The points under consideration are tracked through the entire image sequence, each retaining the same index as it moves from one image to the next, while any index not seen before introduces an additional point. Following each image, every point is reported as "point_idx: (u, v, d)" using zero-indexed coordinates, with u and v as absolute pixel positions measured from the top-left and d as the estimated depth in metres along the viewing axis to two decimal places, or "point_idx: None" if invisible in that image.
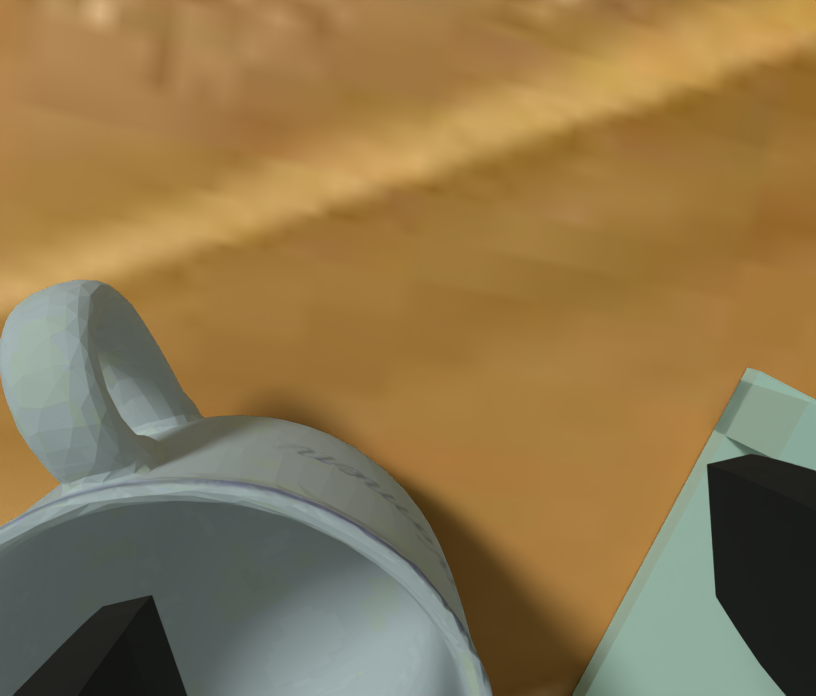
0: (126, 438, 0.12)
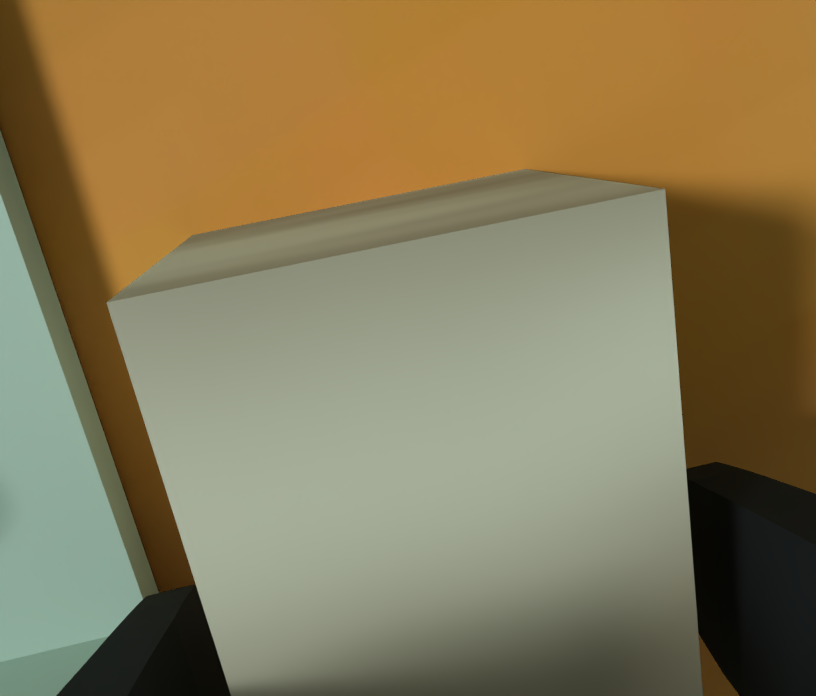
0: None
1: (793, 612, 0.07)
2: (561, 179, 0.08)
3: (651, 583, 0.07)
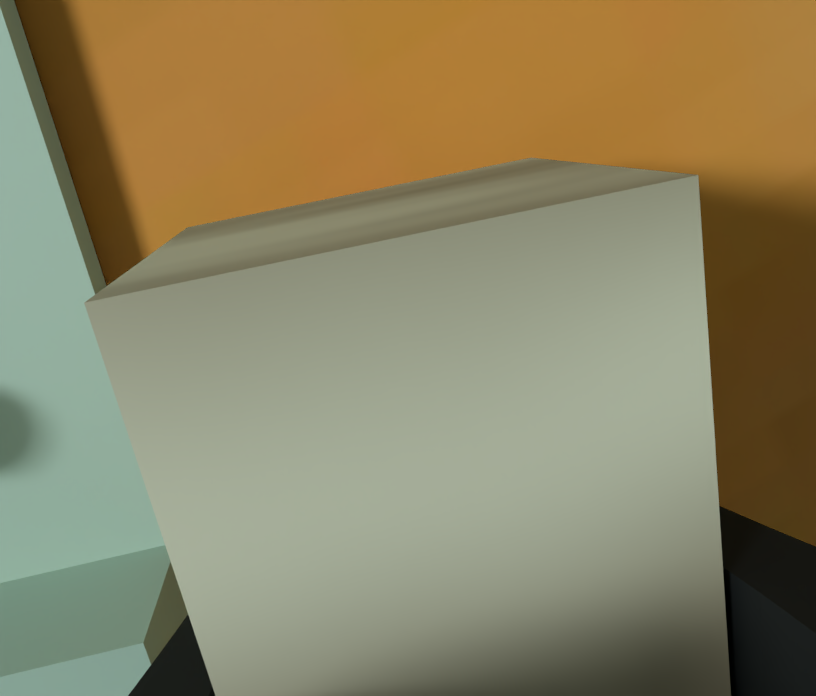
0: None
1: None
2: (578, 167, 0.07)
3: (678, 602, 0.06)
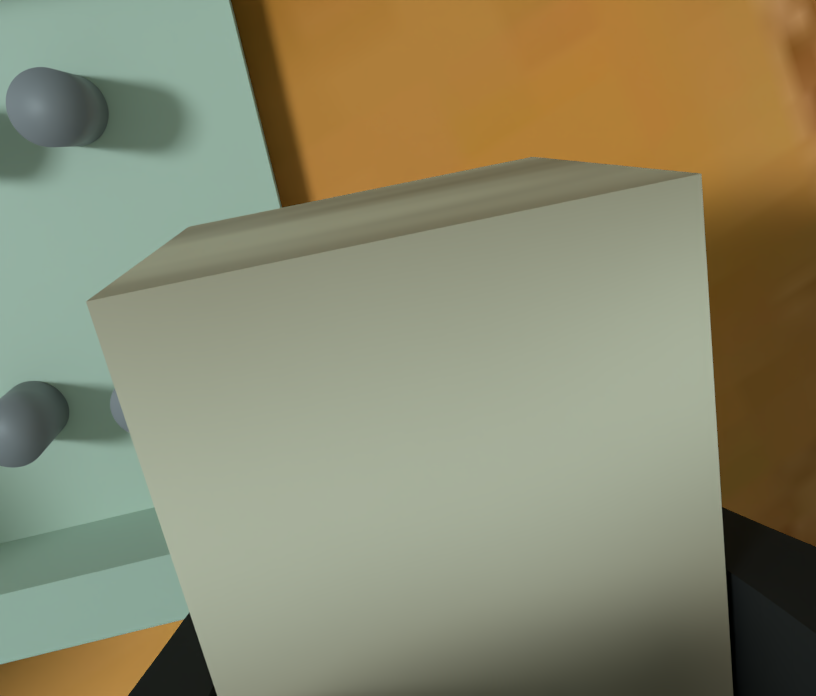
0: None
1: None
2: (580, 166, 0.07)
3: (681, 602, 0.06)
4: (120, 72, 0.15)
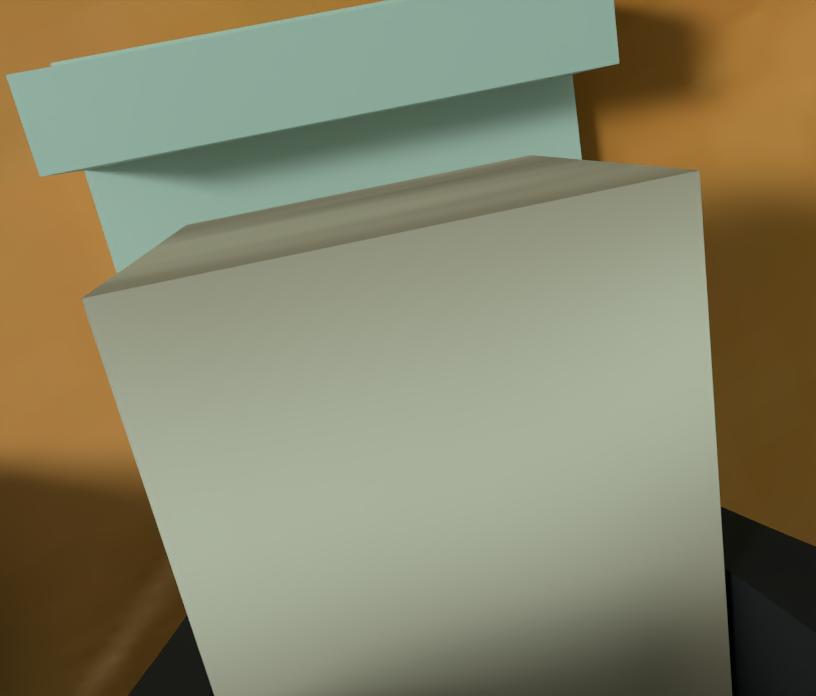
0: None
1: None
2: (578, 164, 0.07)
3: (679, 601, 0.06)
4: None
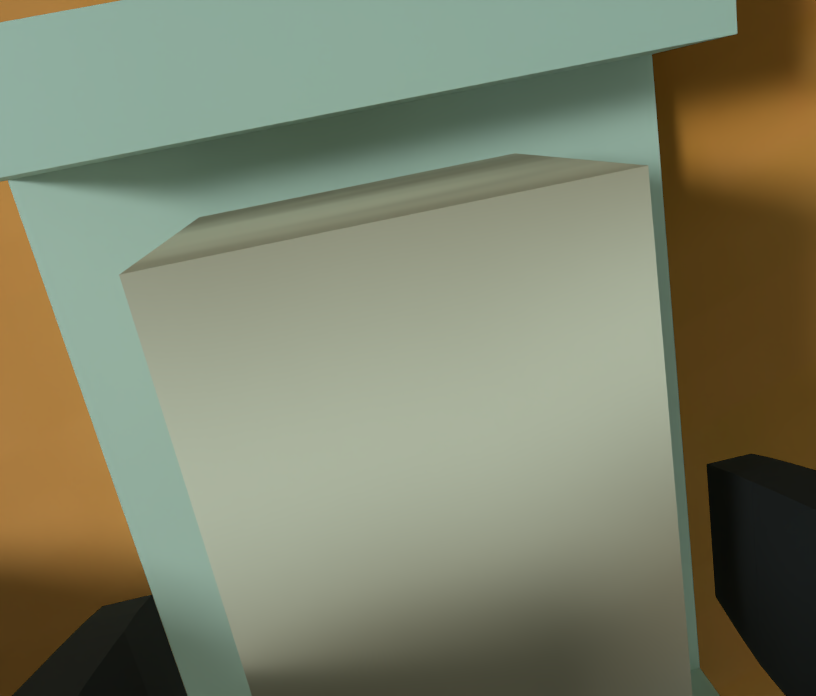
0: None
1: None
2: (552, 161, 0.08)
3: (638, 545, 0.07)
4: None
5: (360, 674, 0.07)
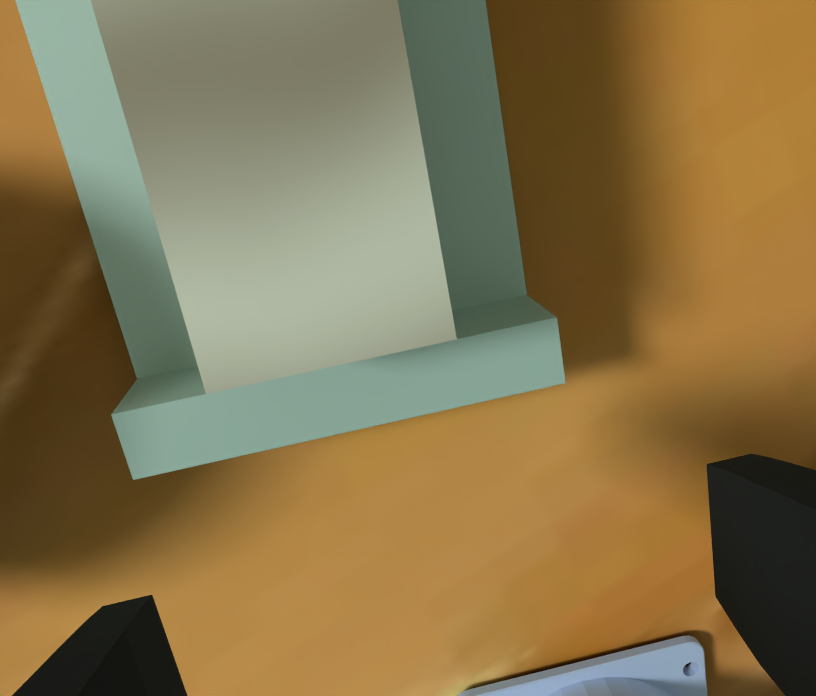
0: None
1: None
2: None
3: None
4: None
5: (172, 23, 0.11)
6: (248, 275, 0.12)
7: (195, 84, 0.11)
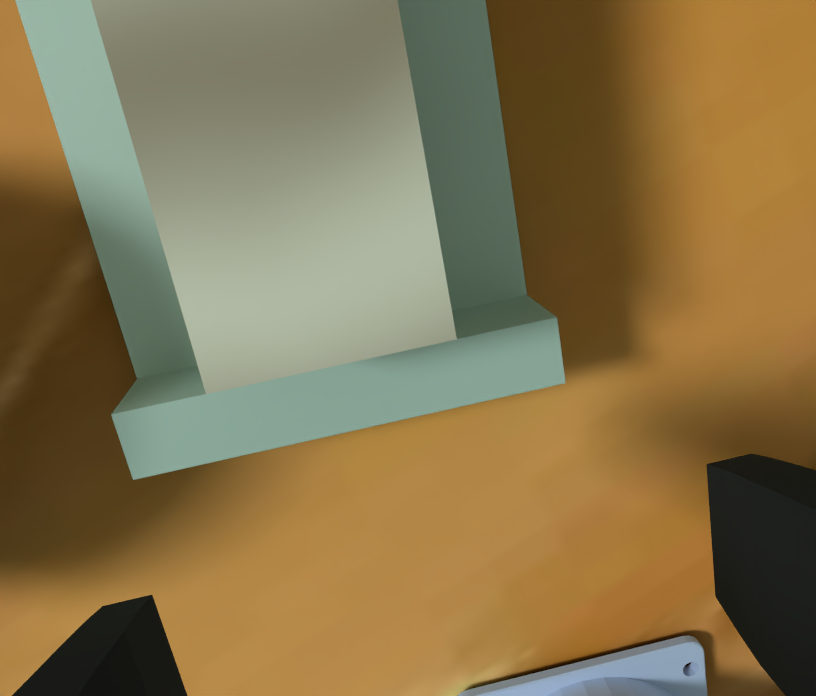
0: None
1: None
2: None
3: None
4: None
5: (172, 23, 0.11)
6: (248, 275, 0.12)
7: (195, 84, 0.11)
